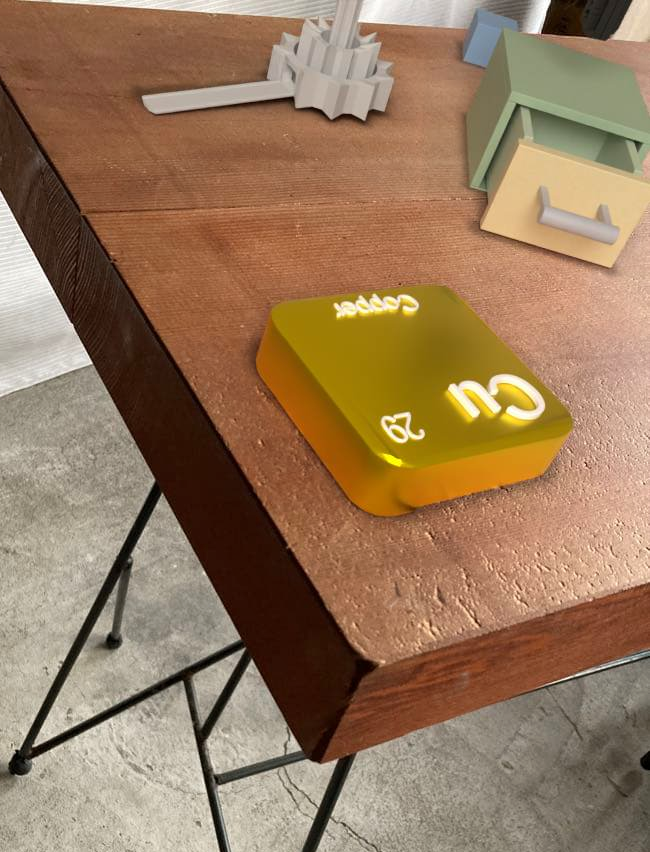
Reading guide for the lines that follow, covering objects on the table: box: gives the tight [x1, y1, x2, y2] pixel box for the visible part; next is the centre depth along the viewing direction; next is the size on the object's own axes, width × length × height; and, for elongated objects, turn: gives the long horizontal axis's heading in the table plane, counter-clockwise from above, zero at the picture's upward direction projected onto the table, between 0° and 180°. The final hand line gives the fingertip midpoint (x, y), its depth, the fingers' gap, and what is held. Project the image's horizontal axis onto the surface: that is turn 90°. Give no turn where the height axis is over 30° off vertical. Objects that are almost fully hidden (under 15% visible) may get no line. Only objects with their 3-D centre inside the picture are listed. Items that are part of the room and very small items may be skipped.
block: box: [462, 7, 520, 69], centre depth 105 cm, size 5×5×5 cm
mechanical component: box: [141, 0, 395, 122], centre depth 82 cm, size 11×25×15 cm, turn 136°
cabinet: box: [465, 27, 650, 193], centre depth 88 cm, size 15×13×9 cm
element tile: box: [255, 284, 575, 518], centre depth 60 cm, size 15×15×5 cm
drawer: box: [479, 103, 650, 269], centre depth 80 cm, size 18×11×7 cm, turn 172°
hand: (593, 35), depth 79 cm, fingers closed
